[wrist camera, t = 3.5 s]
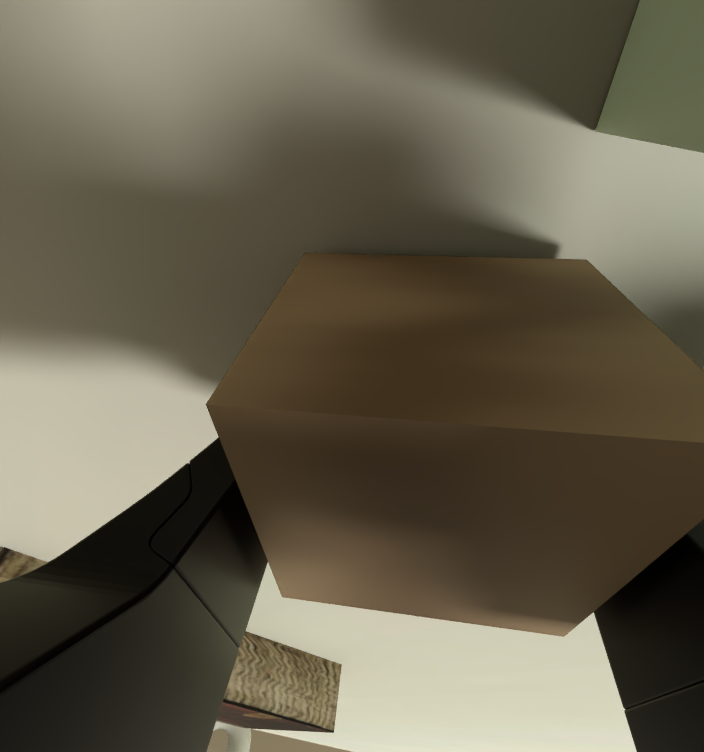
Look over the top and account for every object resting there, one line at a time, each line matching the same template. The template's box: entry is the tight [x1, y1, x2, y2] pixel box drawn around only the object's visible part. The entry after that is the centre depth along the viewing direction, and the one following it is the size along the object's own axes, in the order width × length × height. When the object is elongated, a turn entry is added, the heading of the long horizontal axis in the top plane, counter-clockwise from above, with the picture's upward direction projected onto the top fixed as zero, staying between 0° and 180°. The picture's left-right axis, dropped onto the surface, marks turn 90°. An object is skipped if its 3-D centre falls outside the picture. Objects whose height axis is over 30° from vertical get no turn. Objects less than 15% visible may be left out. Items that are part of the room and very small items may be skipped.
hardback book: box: [0, 547, 341, 733], centre depth 32 cm, size 29×19×5 cm, turn 53°
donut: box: [213, 721, 251, 752], centre depth 51 cm, size 10×4×10 cm, turn 63°
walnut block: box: [206, 253, 704, 637], centre depth 8 cm, size 6×6×5 cm
